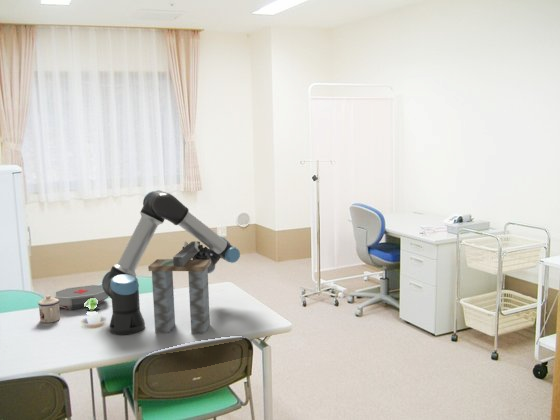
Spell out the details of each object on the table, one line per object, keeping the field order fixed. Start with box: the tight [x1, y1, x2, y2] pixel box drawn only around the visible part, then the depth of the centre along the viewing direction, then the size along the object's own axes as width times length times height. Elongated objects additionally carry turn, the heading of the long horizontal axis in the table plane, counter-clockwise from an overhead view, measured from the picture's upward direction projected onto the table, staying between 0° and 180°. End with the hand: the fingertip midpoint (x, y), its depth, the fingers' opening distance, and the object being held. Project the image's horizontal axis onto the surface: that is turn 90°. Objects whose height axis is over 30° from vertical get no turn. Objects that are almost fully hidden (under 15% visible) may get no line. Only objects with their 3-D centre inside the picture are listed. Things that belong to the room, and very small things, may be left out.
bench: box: [148, 258, 211, 334], centre depth 237 cm, size 24×12×30 cm, turn 85°
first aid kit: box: [54, 284, 109, 310], centre depth 273 cm, size 18×8×25 cm
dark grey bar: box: [172, 240, 201, 267], centre depth 235 cm, size 4×30×4 cm, turn 175°
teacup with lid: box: [37, 294, 61, 324], centre depth 251 cm, size 12×9×12 cm
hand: (190, 244), depth 240 cm, fingers closed on dark grey bar, 4 cm apart
